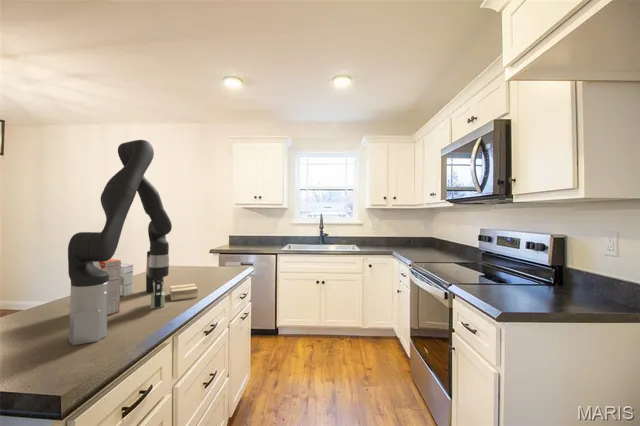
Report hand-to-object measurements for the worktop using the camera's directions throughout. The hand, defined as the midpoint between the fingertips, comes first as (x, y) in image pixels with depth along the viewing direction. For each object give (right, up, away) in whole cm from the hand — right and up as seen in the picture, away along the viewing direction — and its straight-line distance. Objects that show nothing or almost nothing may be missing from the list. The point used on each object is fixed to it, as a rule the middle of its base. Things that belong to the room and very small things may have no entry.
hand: (157, 304), depth 118 cm
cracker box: (-17, 0, -8) cm, 19 cm away
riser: (+4, -1, +15) cm, 16 cm away
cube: (0, 0, 0) cm, 0 cm away
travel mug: (-14, 0, +22) cm, 26 cm away
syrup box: (-25, 0, +14) cm, 29 cm away
